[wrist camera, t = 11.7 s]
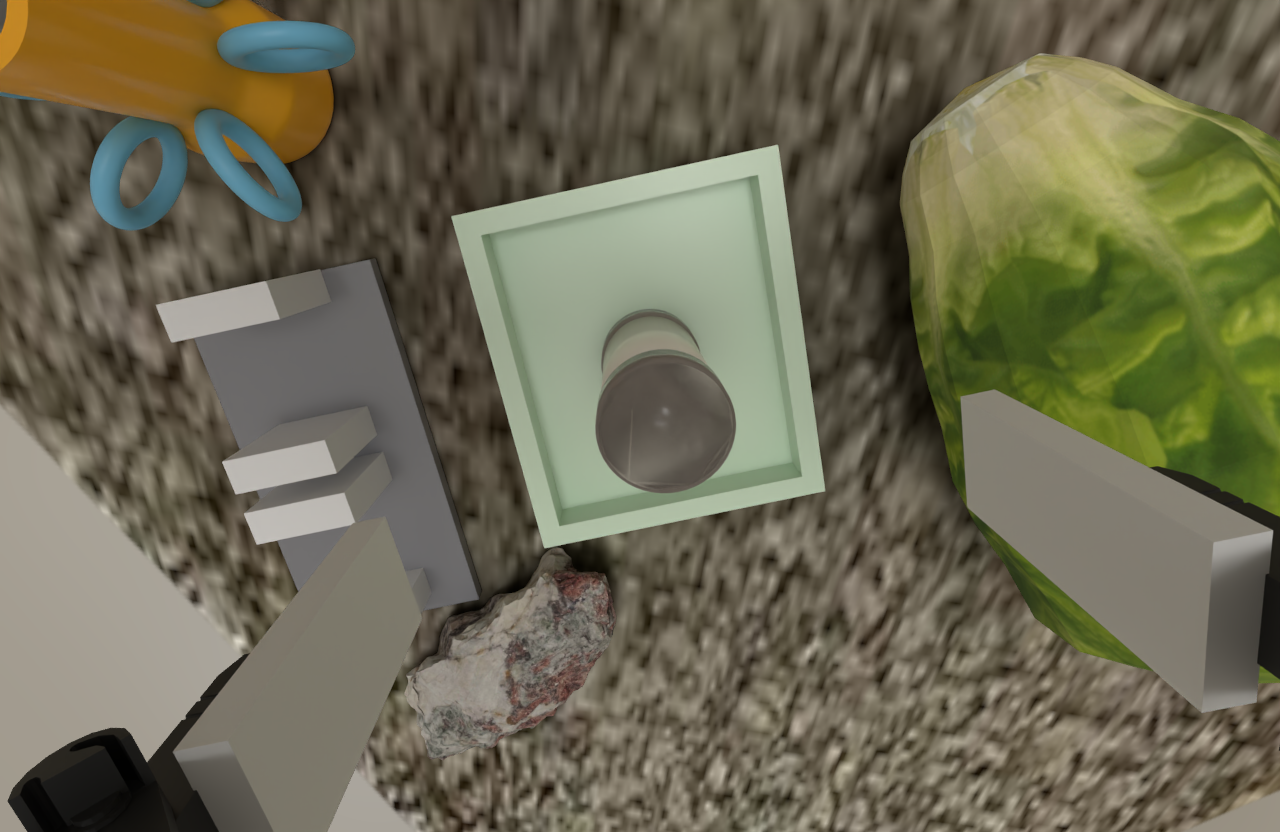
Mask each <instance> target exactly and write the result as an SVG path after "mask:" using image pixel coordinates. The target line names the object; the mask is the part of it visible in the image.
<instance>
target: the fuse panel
mask: <svg viewBox="0 0 1280 832" xmlns="http://www.w3.org/2000/svg"><path fill="white" fill-rule="evenodd" d="M156 307H157V309H158V312H159V314H160V317H161V319H162V321H163V324H164V326H165V328H166V331H167V333H168V335H169V338H170V340H171V343H172V342H177V341H181V340H186V339H191V338H194V340H195V342H196V344H197V347H198V349H199V352H200V354H201V357H202V359H203V361H204V364H205V366H206V369H207V371H208V374H209V376H210V378H211V381H212V383H213V386H214V388H215V391H216V393H217V395H218V398H219V400H220V403H221V405H222V408H223V410H224V412H225V415H226V417H227V420H228V422H229V425H230V427H231V429H232V432H233V434H234V437H235V439H236V442H237V444H238V446H239V449H240V450H239V451H238V452H236V453H235V454H233V455H232V456H230V457H229V458H227V459H225V460H224V461H222V463H223V465H224V468H225V470H226V473H227V475H228V477H229V480H230V482H231V484H232V487H233V489H234V492H235V494H240V493H245V492H250V491H255V490H257V492H258V495H259V497H260V501H258V502H257V503H256V504H255V505H254V506H252V507H251V508H250V509H249V510H247V511H246V512H245V513H244V515H245V518H246V520H247V522H248V525H249V527H250V529H251V532H252V534H253V536H254V539H255V541H256V544H262V543H267V542H272V541H278V543H279V546H280V548H281V551H282V553H283V556H284V558H285V560H286V563H287V565H288V568H289V570H290V573H291V575H292V577H293V580H294V582H295V585H296V587H297V590H298V592H299V591H300V589H301V588H302V587H303V586H304V584H305V583H306V582H307V581H308V579H309V578H310V577H311V575H312V574H313V573H314V572H315V570H316V569H317V568H318V567H319V565H320V564H321V563H322V562H323V560H324V559H325V558H326V556H327V555H328V554H329V553H330V551H331V550H332V549H333V548H334V546H335V545H336V544H337V542H338V541H339V540H340V539H341V537H342V536H343V535H344V534H345V532H346V531H347V530H348V528H349V527H350V526H351V525H352V523H357V522H361V521H366V520H371V519H376V518H381V517H386V520H387V522H388V525H389V528H390V531H391V534H392V536H393V539H394V542H395V545H396V547H397V550H398V553H399V556H400V558H401V561H402V564H403V567H404V569H405V572H406V575H407V578H408V580H409V583H410V586H411V589H412V592H413V594H414V597H415V600H416V603H417V605H418V608H419V611H420V614H421V613H422V611H424V610H428V609H433V608H438V607H443V606H448V605H453V604H458V603H463V602H468V601H473V600H478V599H479V597H480V594H481V592H482V591H481V588H480V584H479V581H478V578H477V575H476V572H475V569H474V566H473V562H472V559H471V556H470V553H469V550H468V547H467V544H466V540H465V537H464V534H463V531H462V528H461V525H460V522H459V518H458V515H457V512H456V509H455V506H454V503H453V500H452V496H451V493H450V490H449V487H448V484H447V481H446V478H445V474H444V471H443V468H442V465H441V462H440V459H439V456H438V452H437V449H436V446H435V443H434V440H433V437H432V434H431V431H430V427H429V424H428V421H427V418H426V415H425V412H424V409H423V405H422V402H421V399H420V396H419V393H418V390H417V387H416V383H415V380H414V377H413V374H412V371H411V368H410V365H409V361H408V358H407V355H406V352H405V349H404V346H403V343H402V339H401V336H400V333H399V330H398V327H397V324H396V321H395V317H394V314H393V311H392V308H391V305H390V302H389V299H388V295H387V292H386V289H385V286H384V283H383V280H382V277H381V274H380V270H379V267H378V264H377V261H376V258H374V259H370V260H365V261H361V262H356V263H352V264H347V265H342V266H338V267H333V268H329V269H324V270H320V269H319V270H314V271H309V272H305V273H300V274H296V275H291V276H286V277H282V278H277V279H272V280H268V281H263V282H259V283H254V284H249V285H245V286H240V287H236V288H231V289H227V290H222V291H217V292H213V293H208V294H204V295H199V296H194V297H190V298H185V299H181V300H176V301H172V302H167V303H162V304H158V305H156Z"/></svg>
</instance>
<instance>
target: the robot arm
mask: <svg viewBox="0 0 1280 832" xmlns="http://www.w3.org/2000/svg"><path fill="white" fill-rule="evenodd" d="M961 413H962V430H963V446H964V463H965V479H966V496H967V508H969V509H970V510H971V511H972V512H973V513H974V514H975V515H977V516H978V517H979V518H980V519H981V520H982V521H983V522H985V523H986V524H987V525H988V526H989V527H990V528H991V529H993V530H994V531H995V532H996V533H997V534H998V535H999V536H1001V537H1002V538H1003V539H1004V540H1005V541H1006V542H1007V543H1009V544H1010V545H1011V546H1012V547H1013V548H1014V549H1015V550H1017V551H1018V552H1019V553H1020V554H1021V555H1022V556H1023V557H1025V558H1026V559H1027V560H1028V561H1029V562H1030V563H1031V564H1033V565H1034V566H1035V567H1036V568H1037V569H1038V570H1039V571H1041V572H1042V573H1043V574H1044V575H1045V576H1046V577H1047V578H1049V579H1050V580H1051V581H1052V582H1053V583H1054V584H1055V585H1057V586H1058V587H1059V588H1060V589H1061V590H1062V591H1063V592H1064V593H1066V594H1067V595H1068V596H1069V597H1070V598H1071V599H1072V600H1074V601H1075V602H1076V603H1077V604H1078V605H1079V606H1080V607H1082V608H1083V609H1084V610H1085V611H1086V612H1087V613H1088V614H1090V615H1091V616H1092V617H1093V618H1094V619H1095V620H1096V621H1098V622H1099V623H1100V624H1101V625H1102V626H1103V627H1104V628H1106V629H1107V630H1108V631H1109V632H1110V633H1111V634H1112V635H1114V636H1115V637H1116V638H1117V639H1118V640H1119V641H1120V642H1122V643H1123V644H1124V645H1125V646H1126V647H1127V648H1128V649H1130V650H1131V651H1132V652H1133V653H1134V654H1135V655H1136V656H1138V657H1139V658H1140V659H1141V660H1142V661H1143V662H1144V663H1146V664H1147V665H1148V666H1149V667H1150V668H1151V669H1152V670H1154V671H1155V672H1156V673H1157V674H1158V675H1159V676H1160V677H1161V678H1163V679H1164V680H1165V681H1166V682H1167V683H1168V684H1169V685H1171V686H1172V687H1173V688H1174V689H1175V690H1176V691H1177V692H1179V693H1180V694H1181V695H1182V696H1183V697H1184V698H1185V699H1187V700H1188V701H1189V702H1190V703H1191V704H1192V705H1193V706H1195V707H1196V708H1197V709H1198V710H1199V711H1200V712H1201V713H1204V712H1209V711H1214V710H1219V709H1224V708H1230V707H1235V706H1240V705H1245V704H1250V703H1255V702H1256V700H1257V690H1258V680H1259V670H1260V666H1262V667H1263V668H1264V669H1266V670H1267V671H1268V672H1270V673H1271V674H1273V675H1274V676H1275V677H1277V678H1278V679H1279V680H1280V517H1279V516H1277V515H1275V514H1273V513H1270V512H1268V511H1266V510H1264V509H1262V508H1260V507H1258V506H1256V505H1254V504H1252V503H1250V502H1247V503H1244V501H1243V499H1241V498H1239V497H1237V496H1235V495H1233V494H1231V493H1229V492H1227V491H1223V492H1221V490H1220V488H1219V487H1216V486H1214V485H1212V484H1210V483H1208V482H1206V481H1204V480H1202V479H1200V478H1198V477H1196V476H1194V475H1191V474H1187V473H1183V472H1179V471H1175V470H1171V469H1167V468H1163V467H1159V466H1155V467H1150V468H1149V467H1147V466H1145V465H1143V464H1141V463H1139V462H1137V461H1135V460H1133V459H1131V458H1129V457H1127V456H1125V455H1123V454H1121V453H1119V452H1117V451H1115V450H1113V449H1111V448H1109V447H1107V446H1105V445H1103V444H1102V443H1100V442H1098V441H1096V440H1094V439H1092V438H1090V437H1088V436H1086V435H1084V434H1082V433H1080V432H1078V431H1076V430H1074V429H1072V428H1070V427H1068V426H1066V425H1064V424H1062V423H1060V422H1058V421H1056V420H1054V419H1052V418H1050V417H1048V416H1046V415H1044V414H1042V413H1040V412H1038V411H1036V410H1034V409H1032V408H1030V407H1028V406H1026V405H1024V404H1023V403H1021V402H1019V401H1017V400H1015V399H1013V398H1011V397H1009V396H1007V395H1005V394H1003V393H1001V392H999V391H997V390H990V391H985V392H980V393H976V394H971V395H966V396H961ZM421 620H422V616H421V614H420V611H419V608H418V605H417V603H416V600H415V597H414V594H413V592H412V589H411V586H410V583H409V580H408V578H407V575H406V572H405V569H404V567H403V564H402V561H401V558H400V556H399V553H398V550H397V547H396V545H395V542H394V539H393V536H392V534H391V531H390V528H389V525H388V522H387V520H386V517H381V518H376V519H371V520H366V521H361V522H357V523H352V525H351V526H350V527H349V528H348V530H347V531H346V532H345V534H344V535H343V536H342V537H341V539H340V540H339V541H338V542H337V544H336V545H335V546H334V548H333V549H332V550H331V551H330V553H329V554H328V555H327V556H326V558H325V559H324V560H323V562H322V563H321V564H320V565H319V567H318V568H317V569H316V570H315V572H314V573H313V574H312V575H311V577H310V578H309V579H308V581H307V582H306V583H305V584H304V586H303V587H302V588H301V589H300V591H299V592H298V593H297V595H296V596H295V597H294V598H293V600H292V601H291V602H290V603H289V605H288V606H287V607H286V608H285V610H284V611H283V612H282V614H281V615H280V616H279V617H278V619H277V620H276V621H275V622H274V624H273V625H272V626H271V628H270V629H269V630H268V631H267V633H266V634H265V635H264V636H263V638H262V639H261V640H260V642H259V643H258V644H257V645H256V647H255V648H254V649H253V650H252V652H251V653H249V654H244V655H243V656H242V657H241V658H239V659H238V660H237V661H236V662H234V663H233V664H232V665H231V666H229V667H228V668H227V669H226V670H225V671H223V672H222V673H221V674H220V675H218V677H217V678H216V679H215V680H214V681H213V683H212V684H211V685H210V686H209V687H208V689H207V690H206V691H205V692H204V694H203V695H202V696H201V697H200V698H201V701H198V702H196V703H195V705H194V706H193V707H192V708H191V710H190V711H189V712H188V713H187V714H186V719H185V720H181V722H180V723H179V724H178V726H177V727H176V728H175V729H174V730H173V731H172V733H171V734H170V735H169V736H168V738H167V739H166V740H165V741H164V742H163V744H162V745H161V746H160V747H159V749H158V750H157V751H156V752H155V754H154V755H153V756H152V757H151V759H150V760H149V761H148V762H146V760H145V759H144V757H143V755H142V753H141V752H140V750H139V748H138V746H137V744H136V743H135V741H134V739H133V737H132V735H131V734H130V733H129V732H128V731H127V730H126V729H125V728H109V729H105V730H101V731H98V732H94V733H91V734H89V735H86V736H84V737H82V738H80V739H78V740H75V741H73V742H71V743H69V744H67V745H66V746H64V747H62V748H61V749H59V750H57V751H56V752H54V753H52V754H51V755H49V756H48V757H46V758H45V759H44V760H42V761H41V762H40V763H39V764H37V765H36V766H35V767H34V768H32V769H31V770H30V771H29V772H27V773H26V775H24V777H23V778H22V779H21V780H20V781H19V782H18V783H17V784H16V785H15V787H14V788H13V789H12V792H11V794H10V797H9V799H8V803H9V804H10V806H11V807H12V809H13V810H14V812H15V814H16V815H17V816H18V818H19V820H20V821H21V823H22V824H23V826H24V827H25V829H26V830H27V832H327V831H328V829H329V827H330V824H331V822H332V820H333V818H334V815H335V813H336V811H337V809H338V806H339V804H340V802H341V800H342V798H343V795H344V793H345V791H346V789H347V786H348V784H349V782H350V779H351V777H352V775H353V773H354V771H355V768H356V766H357V764H358V762H359V759H360V757H361V755H362V753H363V750H364V748H365V746H366V744H367V741H368V739H369V737H370V735H371V732H372V730H373V728H374V726H375V723H376V721H377V719H378V717H379V714H380V712H381V710H382V708H383V706H384V703H385V701H386V699H387V697H388V694H389V692H390V690H391V688H392V685H393V683H394V681H395V679H396V676H397V674H398V672H399V670H400V667H401V665H402V663H403V661H404V658H405V656H406V654H407V652H408V649H409V647H410V645H411V643H412V640H413V638H414V636H415V634H416V631H417V629H418V627H419V625H420V622H421ZM1279 751H1280V747H1279Z"/></svg>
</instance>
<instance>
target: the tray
mask: <svg viewBox="0 0 1280 832" xmlns="http://www.w3.org/2000/svg"><path fill="white" fill-rule="evenodd" d="M451 217H452V221H453V224H454V228H455V232H456V235H457V239H458V242H459V246H460V249H461V253H462V256H463V260H464V264H465V267H466V271H467V274H468V278H469V281H470V285H471V289H472V292H473V296H474V299H475V303H476V306H477V310H478V314H479V317H480V321H481V324H482V328H483V331H484V335H485V339H486V342H487V346H488V349H489V353H490V356H491V360H492V363H493V367H494V371H495V374H496V378H497V381H498V385H499V388H500V392H501V396H502V399H503V403H504V406H505V410H506V413H507V417H508V421H509V424H510V428H511V431H512V435H513V438H514V442H515V446H516V449H517V453H518V456H519V460H520V463H521V467H522V470H523V474H524V478H525V481H526V485H527V488H528V492H529V495H530V499H531V503H532V506H533V510H534V513H535V517H536V520H537V524H538V528H539V531H540V535H541V538H542V542H543V545H544V548H549V547H554V546H559V545H564V544H568V543H573V542H578V541H583V540H588V539H593V538H598V537H603V536H608V535H613V534H617V533H622V532H627V531H632V530H637V529H642V528H647V527H652V526H657V525H662V524H667V523H671V522H676V521H681V520H686V519H691V518H696V517H701V516H706V515H711V514H716V513H720V512H725V511H730V510H735V509H740V508H745V507H750V506H755V505H760V504H765V503H769V502H774V501H779V500H784V499H789V498H794V497H799V496H804V495H809V494H814V493H819V492H823V491H825V486H824V478H823V471H822V464H821V456H820V449H819V442H818V434H817V427H816V420H815V412H814V405H813V398H812V390H811V383H810V376H809V368H808V361H807V354H806V346H805V339H804V332H803V324H802V317H801V310H800V302H799V295H798V288H797V280H796V273H795V266H794V258H793V251H792V244H791V236H790V229H789V222H788V214H787V207H786V200H785V192H784V185H783V178H782V170H781V163H780V156H779V148H778V145H774V146H770V147H765V148H761V149H756V150H752V151H747V152H742V153H738V154H733V155H729V156H724V157H720V158H715V159H711V160H706V161H701V162H697V163H692V164H688V165H683V166H679V167H674V168H670V169H665V170H660V171H656V172H651V173H647V174H642V175H638V176H633V177H628V178H624V179H619V180H615V181H610V182H606V183H601V184H597V185H592V186H587V187H583V188H578V189H574V190H569V191H565V192H560V193H556V194H551V195H546V196H542V197H537V198H533V199H528V200H524V201H519V202H515V203H510V204H505V205H501V206H496V207H492V208H487V209H483V210H478V211H473V212H469V213H464V214H460V215H455V216H451ZM643 309H658V310H663V311H666V312H669V313H671V314H673V315H675V316H676V317H678V318H679V319H680V320H682V321H683V322H684V323H685V324H686V325H687V327H688V328H689V329H690V331H691V333H692V334H693V336H694V338H695V339H696V341H697V343H698V346H699V349H700V353H701V354H702V356H703V358H704V360H705V361H706V363H707V365H708V366H709V367H710V368H711V369H712V370H713V371H714V373H715V374H716V375H717V377H718V378H719V380H720V381H721V383H722V385H723V386H724V388H725V390H726V392H727V393H728V395H729V397H730V399H731V402H732V404H733V407H734V411H735V417H736V433H735V439H734V442H733V446H732V449H731V451H730V453H729V455H728V457H727V459H726V460H725V462H724V463H723V465H722V466H721V467H720V468H719V469H718V471H717V472H715V473H714V474H713V475H712V476H711V477H710V478H708V479H707V480H706V481H704V482H703V483H701V484H699V485H697V486H695V487H693V488H690V489H688V490H684V491H680V492H675V493H653V492H648V491H644V490H641V489H638V488H635V487H633V486H631V485H629V484H628V483H626V482H625V481H623V480H622V479H620V478H619V477H618V476H617V475H616V474H615V473H614V472H613V471H612V470H611V469H610V468H609V467H608V465H607V464H606V462H605V461H604V459H603V457H602V455H601V453H600V451H599V447H598V444H597V440H596V431H595V424H596V413H597V403H598V399H599V395H600V392H601V387H602V368H601V359H602V350H603V345H604V341H605V339H606V336H607V334H608V333H609V331H610V329H611V328H612V327H613V326H614V325H615V323H616V322H617V321H619V320H620V319H621V318H622V317H624V316H626V315H627V314H630V313H632V312H634V311H638V310H643Z"/></svg>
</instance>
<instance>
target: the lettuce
mask: <svg viewBox="0 0 1280 832" xmlns="http://www.w3.org/2000/svg"><path fill="white" fill-rule="evenodd" d="M900 208H901V213H902V219H903V224H904V230H905V235H906V240H907V246H908V251H909V276H910V299H911V305H912V311H913V317H914V323H915V329H916V335H917V341H918V347H919V351H920V355H921V359H922V363H923V367H924V371H925V375H926V379H927V383H928V387H929V391H930V394H931V397H932V400H933V403H934V406H935V409H936V412H937V415H938V418H939V421H940V424H941V427H942V432H943V437H944V442H945V446H946V451H947V456H948V461H949V466H950V471H951V476H952V481H953V483H954V485H955V486H956V488H957V490H958V492H959V494H960V496H961V498H962V500H963V502H964V503H965V505H966V507H967V496H966V479H965V463H964V446H963V430H962V413H961V396H966V395H971V394H976V393H980V392H985V391H990V390H997V391H999V392H1001V393H1003V394H1005V395H1007V396H1009V397H1011V398H1013V399H1015V400H1017V401H1019V402H1021V403H1023V404H1024V405H1026V406H1028V407H1030V408H1032V409H1034V410H1036V411H1038V412H1040V413H1042V414H1044V415H1046V416H1048V417H1050V418H1052V419H1054V420H1056V421H1058V422H1060V423H1062V424H1064V425H1066V426H1068V427H1070V428H1072V429H1074V430H1076V431H1078V432H1080V433H1082V434H1084V435H1086V436H1088V437H1090V438H1092V439H1094V440H1096V441H1098V442H1100V443H1102V444H1103V445H1105V446H1107V447H1109V448H1111V449H1113V450H1115V451H1117V452H1119V453H1121V454H1123V455H1125V456H1127V457H1129V458H1131V459H1133V460H1135V461H1137V462H1139V463H1141V464H1143V465H1145V466H1147V467H1149V468H1150V467H1155V466H1159V467H1163V468H1167V469H1171V470H1175V471H1179V472H1183V473H1187V474H1191V475H1194V476H1196V477H1198V478H1200V479H1202V480H1204V481H1206V482H1208V483H1210V484H1212V485H1214V486H1216V487H1219V488H1220V490H1221V492H1223V491H1227V492H1229V493H1231V494H1233V495H1235V496H1237V497H1239V498H1241V499H1243V501H1244V503H1247V502H1250V503H1252V504H1254V505H1256V506H1258V507H1260V508H1262V509H1264V510H1266V511H1268V512H1270V513H1273V514H1275V515H1277V516H1279V517H1280V141H1278V140H1276V139H1275V138H1273V137H1271V136H1269V135H1268V134H1266V133H1264V132H1262V131H1261V130H1259V129H1257V128H1255V127H1254V126H1252V125H1250V124H1248V123H1247V122H1245V121H1243V120H1241V119H1239V118H1236V117H1233V116H1230V115H1227V114H1224V113H1221V112H1218V111H1214V110H1211V109H1208V108H1205V107H1202V106H1199V105H1196V104H1193V103H1189V102H1186V101H1183V100H1180V99H1178V98H1176V97H1174V96H1172V95H1170V94H1168V93H1166V92H1164V91H1162V90H1160V89H1158V88H1156V87H1154V86H1152V85H1151V84H1149V83H1147V82H1145V81H1143V80H1141V79H1139V78H1137V77H1135V76H1133V75H1131V74H1129V73H1127V72H1125V71H1124V70H1122V69H1120V68H1118V67H1115V66H1111V65H1107V64H1103V63H1100V62H1096V61H1092V60H1089V59H1085V58H1081V57H1072V56H1062V55H1051V54H1041V53H1040V54H1037V55H1035V56H1033V57H1031V58H1029V59H1027V60H1024V61H1022V62H1020V63H1018V64H1016V65H1014V66H1012V67H1009V68H1007V69H1005V70H1003V71H1001V72H999V73H996V74H994V75H992V76H990V77H988V78H986V79H983V80H981V81H979V82H977V83H975V84H973V85H971V86H968V87H966V88H964V89H963V90H962V91H961V92H960V93H959V94H958V95H957V96H956V97H955V98H954V99H953V100H952V101H951V102H950V103H949V104H948V105H947V106H946V107H945V108H944V109H943V110H942V111H941V112H940V113H939V114H938V115H937V116H936V117H935V118H934V119H933V120H932V121H931V122H930V123H929V124H928V125H927V126H926V127H925V128H924V129H923V130H922V131H921V132H920V133H919V134H918V135H917V136H916V137H915V138H914V139H913V140H912V141H911V142H910V146H909V150H908V154H907V158H906V162H905V166H904V170H903V174H902V185H901V197H900ZM967 509H968V511H969V513H970V515H971V517H972V519H973V520H974V522H975V524H976V526H977V527H978V528H979V530H980V531H981V532H982V534H983V535H984V537H985V538H986V539H987V541H988V542H989V543H990V545H991V546H992V548H993V549H994V550H995V552H996V553H997V554H998V556H999V557H1000V559H1001V560H1002V561H1003V563H1004V564H1005V565H1006V567H1007V569H1008V571H1009V573H1010V574H1011V576H1012V578H1013V580H1014V581H1015V583H1016V585H1017V587H1018V589H1019V590H1020V592H1021V594H1022V596H1023V597H1024V599H1025V601H1026V603H1027V605H1028V606H1029V608H1030V610H1031V612H1032V613H1033V615H1034V617H1035V618H1036V619H1037V620H1039V621H1040V622H1041V623H1042V624H1044V625H1045V626H1046V627H1048V628H1049V629H1050V630H1052V631H1053V632H1054V633H1056V634H1057V635H1058V636H1060V637H1061V638H1062V639H1064V640H1065V641H1066V642H1068V643H1069V644H1070V645H1071V646H1073V647H1074V648H1075V649H1077V650H1078V651H1079V652H1083V653H1086V654H1090V655H1094V656H1097V657H1101V658H1105V659H1108V660H1112V661H1115V662H1119V663H1123V664H1126V665H1130V666H1133V667H1137V668H1141V669H1146V670H1150V671H1154V670H1152V669H1151V668H1150V667H1149V666H1148V665H1147V664H1146V663H1144V662H1143V661H1142V660H1141V659H1140V658H1139V657H1138V656H1136V655H1135V654H1134V653H1133V652H1132V651H1131V650H1130V649H1128V648H1127V647H1126V646H1125V645H1124V644H1123V643H1122V642H1120V641H1119V640H1118V639H1117V638H1116V637H1115V636H1114V635H1112V634H1111V633H1110V632H1109V631H1108V630H1107V629H1106V628H1104V627H1103V626H1102V625H1101V624H1100V623H1099V622H1098V621H1096V620H1095V619H1094V618H1093V617H1092V616H1091V615H1090V614H1088V613H1087V612H1086V611H1085V610H1084V609H1083V608H1082V607H1080V606H1079V605H1078V604H1077V603H1076V602H1075V601H1074V600H1072V599H1071V598H1070V597H1069V596H1068V595H1067V594H1066V593H1064V592H1063V591H1062V590H1061V589H1060V588H1059V587H1058V586H1057V585H1055V584H1054V583H1053V582H1052V581H1051V580H1050V579H1049V578H1047V577H1046V576H1045V575H1044V574H1043V573H1042V572H1041V571H1039V570H1038V569H1037V568H1036V567H1035V566H1034V565H1033V564H1031V563H1030V562H1029V561H1028V560H1027V559H1026V558H1025V557H1023V556H1022V555H1021V554H1020V553H1019V552H1018V551H1017V550H1015V549H1014V548H1013V547H1012V546H1011V545H1010V544H1009V543H1007V542H1006V541H1005V540H1004V539H1003V538H1002V537H1001V536H999V535H998V534H997V533H996V532H995V531H994V530H993V529H991V528H990V527H989V526H988V525H987V524H986V523H985V522H983V521H982V520H981V519H980V518H979V517H978V516H977V515H975V514H974V513H973V512H972V511H971V510H970V509H969V508H967ZM1258 683H1280V680H1279V679H1278V678H1277V677H1275V676H1274V675H1273V674H1271V673H1270V672H1268V671H1267V670H1266V669H1264V668H1263V667H1262V666H1260V670H1259V680H1258Z"/></svg>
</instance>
